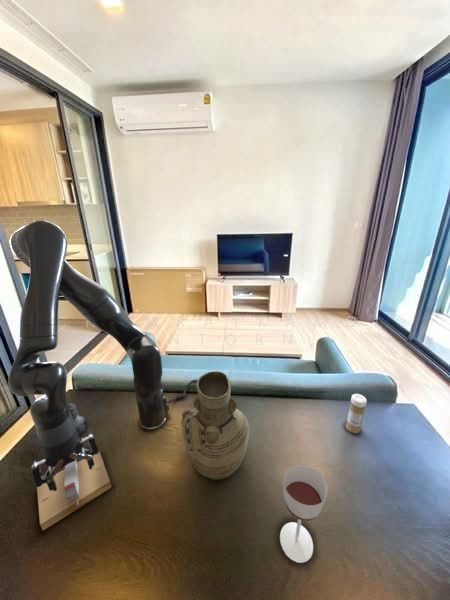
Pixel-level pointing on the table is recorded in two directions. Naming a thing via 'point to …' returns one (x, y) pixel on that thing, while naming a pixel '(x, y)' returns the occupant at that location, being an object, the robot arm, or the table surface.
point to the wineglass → (301, 509)
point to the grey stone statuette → (77, 418)
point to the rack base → (56, 503)
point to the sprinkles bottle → (356, 413)
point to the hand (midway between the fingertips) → (73, 477)
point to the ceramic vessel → (215, 428)
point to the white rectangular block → (71, 481)
